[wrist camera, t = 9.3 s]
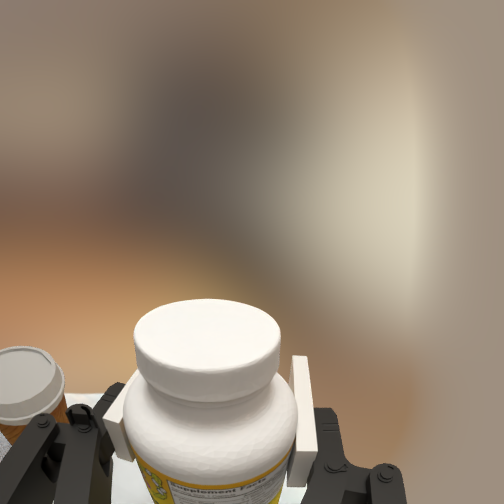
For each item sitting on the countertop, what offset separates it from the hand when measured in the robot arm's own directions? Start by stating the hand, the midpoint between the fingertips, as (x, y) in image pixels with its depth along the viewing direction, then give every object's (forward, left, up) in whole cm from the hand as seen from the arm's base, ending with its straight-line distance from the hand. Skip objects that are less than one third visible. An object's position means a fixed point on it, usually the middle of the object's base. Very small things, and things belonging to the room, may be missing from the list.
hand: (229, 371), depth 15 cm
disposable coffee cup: (-18, -1, -17) cm, 25 cm away
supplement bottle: (0, -5, -8) cm, 9 cm away
